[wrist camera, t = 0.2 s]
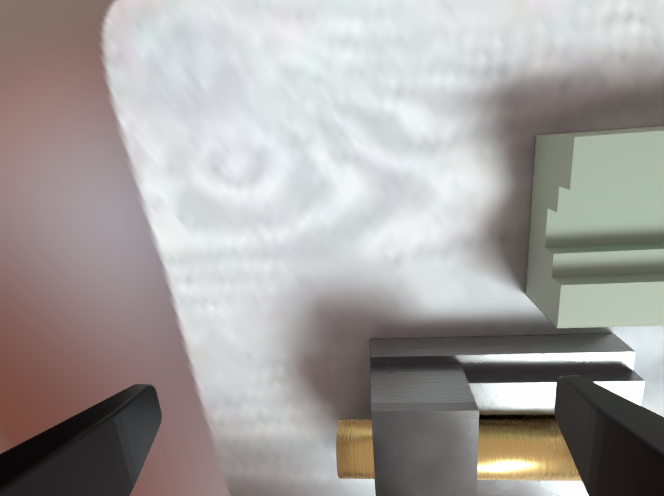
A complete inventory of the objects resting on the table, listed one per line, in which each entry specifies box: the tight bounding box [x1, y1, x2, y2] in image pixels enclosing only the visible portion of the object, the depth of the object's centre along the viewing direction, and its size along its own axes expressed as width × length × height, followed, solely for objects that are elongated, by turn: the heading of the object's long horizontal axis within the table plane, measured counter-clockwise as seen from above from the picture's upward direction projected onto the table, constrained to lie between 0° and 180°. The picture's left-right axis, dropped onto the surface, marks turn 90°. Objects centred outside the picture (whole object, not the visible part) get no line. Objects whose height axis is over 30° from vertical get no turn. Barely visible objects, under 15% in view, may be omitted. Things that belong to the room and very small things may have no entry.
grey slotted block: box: [370, 333, 645, 496], centre depth 22 cm, size 10×14×6 cm
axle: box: [336, 419, 582, 481], centre depth 22 cm, size 3×14×3 cm, turn 94°
